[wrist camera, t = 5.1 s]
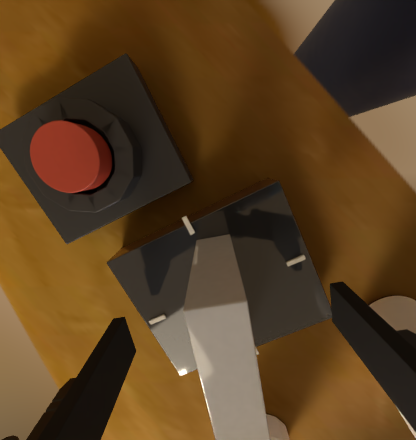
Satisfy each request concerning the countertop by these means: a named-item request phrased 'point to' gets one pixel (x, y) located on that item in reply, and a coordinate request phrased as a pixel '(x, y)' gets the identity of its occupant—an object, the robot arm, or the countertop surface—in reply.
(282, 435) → the white cup
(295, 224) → the dark gray dial base
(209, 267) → the upright gray tile
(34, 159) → the button
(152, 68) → the countertop surface
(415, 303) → the cup
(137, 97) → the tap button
